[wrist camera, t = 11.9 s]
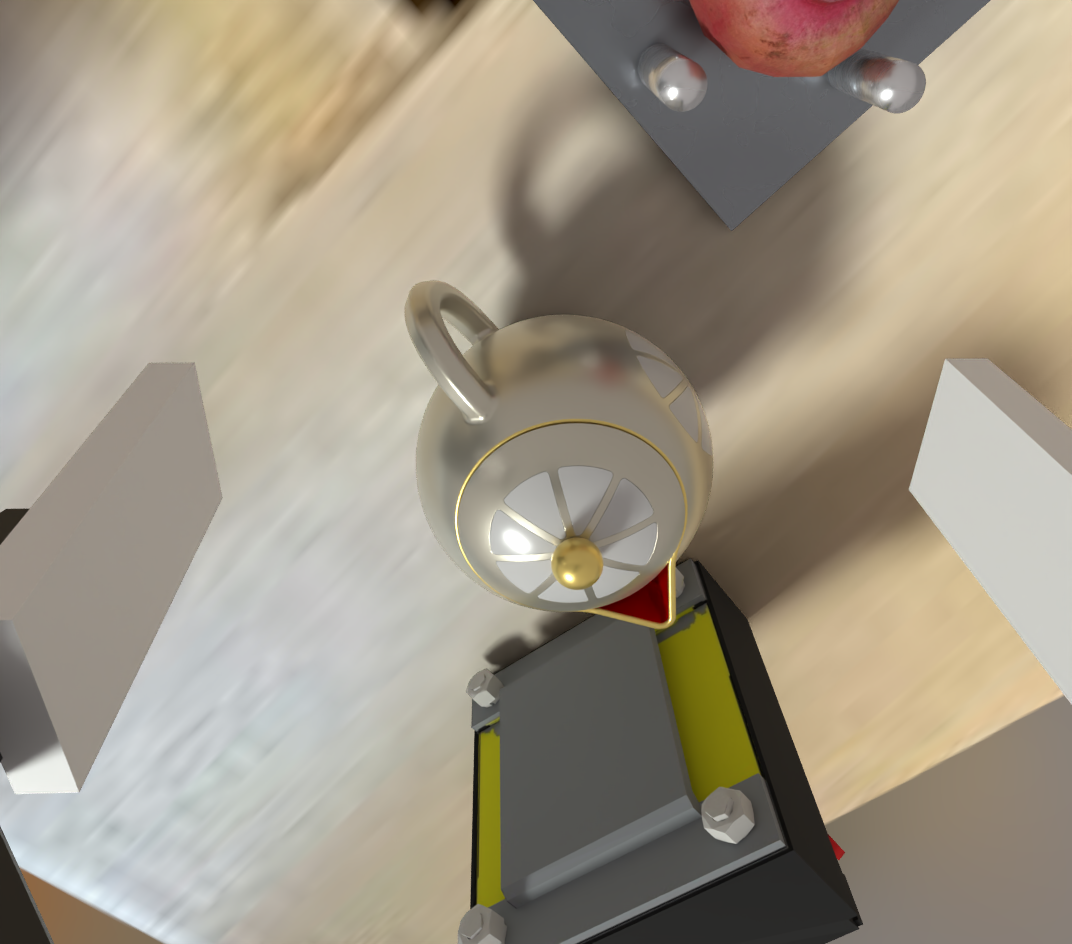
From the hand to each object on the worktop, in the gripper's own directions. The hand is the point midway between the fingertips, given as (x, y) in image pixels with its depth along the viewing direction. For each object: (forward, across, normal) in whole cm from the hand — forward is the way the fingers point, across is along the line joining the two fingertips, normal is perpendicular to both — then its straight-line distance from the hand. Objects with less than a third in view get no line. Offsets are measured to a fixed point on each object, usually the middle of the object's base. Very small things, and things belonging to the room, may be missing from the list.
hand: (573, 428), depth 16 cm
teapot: (+29, +1, -12) cm, 31 cm away
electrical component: (+29, +6, -32) cm, 44 cm away
